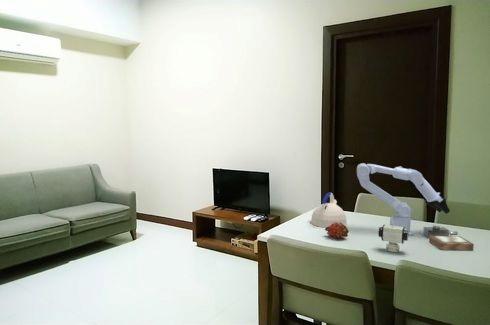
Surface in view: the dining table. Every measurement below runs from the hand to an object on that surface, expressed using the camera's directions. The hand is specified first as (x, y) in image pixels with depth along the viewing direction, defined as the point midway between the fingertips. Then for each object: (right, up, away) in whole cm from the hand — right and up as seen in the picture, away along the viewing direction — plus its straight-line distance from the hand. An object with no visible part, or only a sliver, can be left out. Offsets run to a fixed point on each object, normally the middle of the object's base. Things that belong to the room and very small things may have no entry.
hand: (444, 211), depth 173 cm
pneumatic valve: (-35, -15, -20) cm, 43 cm away
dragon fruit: (-55, -13, -1) cm, 56 cm away
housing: (-4, -13, 0) cm, 13 cm away
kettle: (-52, -11, +26) cm, 59 cm away
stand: (-5, -14, -14) cm, 20 cm away
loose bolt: (+6, -12, +3) cm, 14 cm away
